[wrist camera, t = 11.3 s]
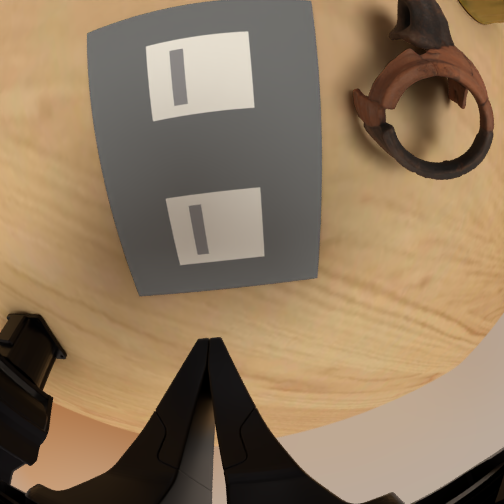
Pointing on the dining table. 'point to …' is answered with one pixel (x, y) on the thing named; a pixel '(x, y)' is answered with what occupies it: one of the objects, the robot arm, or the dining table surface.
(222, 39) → the label mat
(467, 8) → the vase
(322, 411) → the dining table surface
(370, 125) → the brown curved piece
